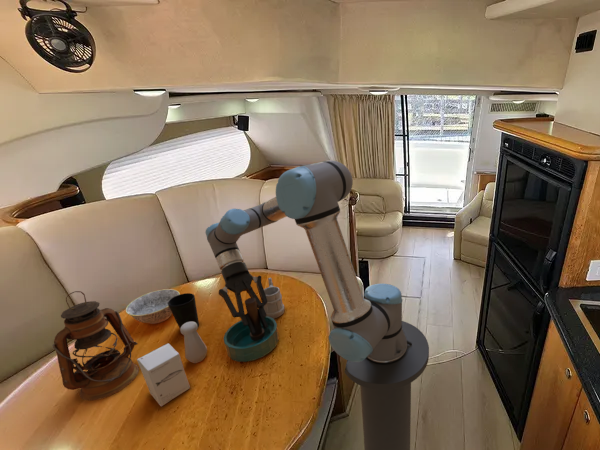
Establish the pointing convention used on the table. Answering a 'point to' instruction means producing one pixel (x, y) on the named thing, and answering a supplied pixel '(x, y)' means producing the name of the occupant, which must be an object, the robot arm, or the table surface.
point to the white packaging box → (164, 373)
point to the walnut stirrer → (254, 319)
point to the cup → (184, 309)
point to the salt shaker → (193, 343)
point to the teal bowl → (250, 341)
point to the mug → (273, 301)
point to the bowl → (152, 306)
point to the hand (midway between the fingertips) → (259, 330)
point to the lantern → (102, 367)
